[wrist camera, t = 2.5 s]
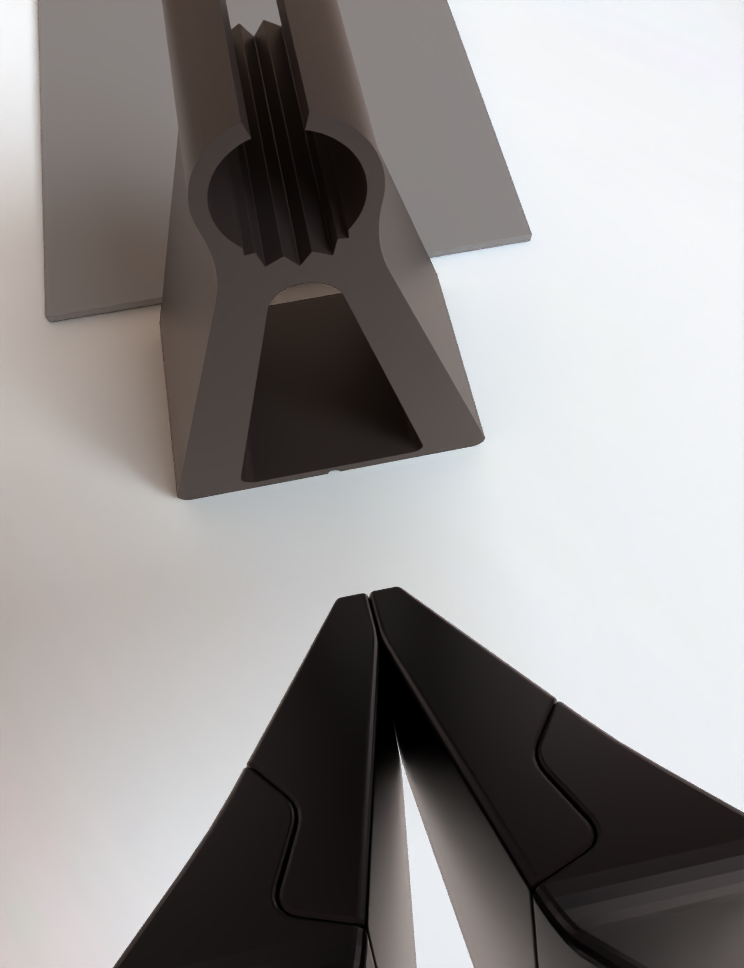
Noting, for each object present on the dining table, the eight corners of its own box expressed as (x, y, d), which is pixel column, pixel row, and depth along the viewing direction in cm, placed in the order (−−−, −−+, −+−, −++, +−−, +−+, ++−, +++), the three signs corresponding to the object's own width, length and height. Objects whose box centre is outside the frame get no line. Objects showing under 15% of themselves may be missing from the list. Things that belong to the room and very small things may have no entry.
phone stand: (180, 502, 20) (-72, 171, 9) (163, 330, 22) (-54, -105, 11) (483, 446, 21) (600, 68, 9) (437, 283, 23) (489, -175, 12)
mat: (529, 240, 23) (531, 234, 23) (49, 322, 22) (45, 316, 22) (413, -83, 30) (414, -91, 30) (40, -31, 29) (37, -38, 29)
